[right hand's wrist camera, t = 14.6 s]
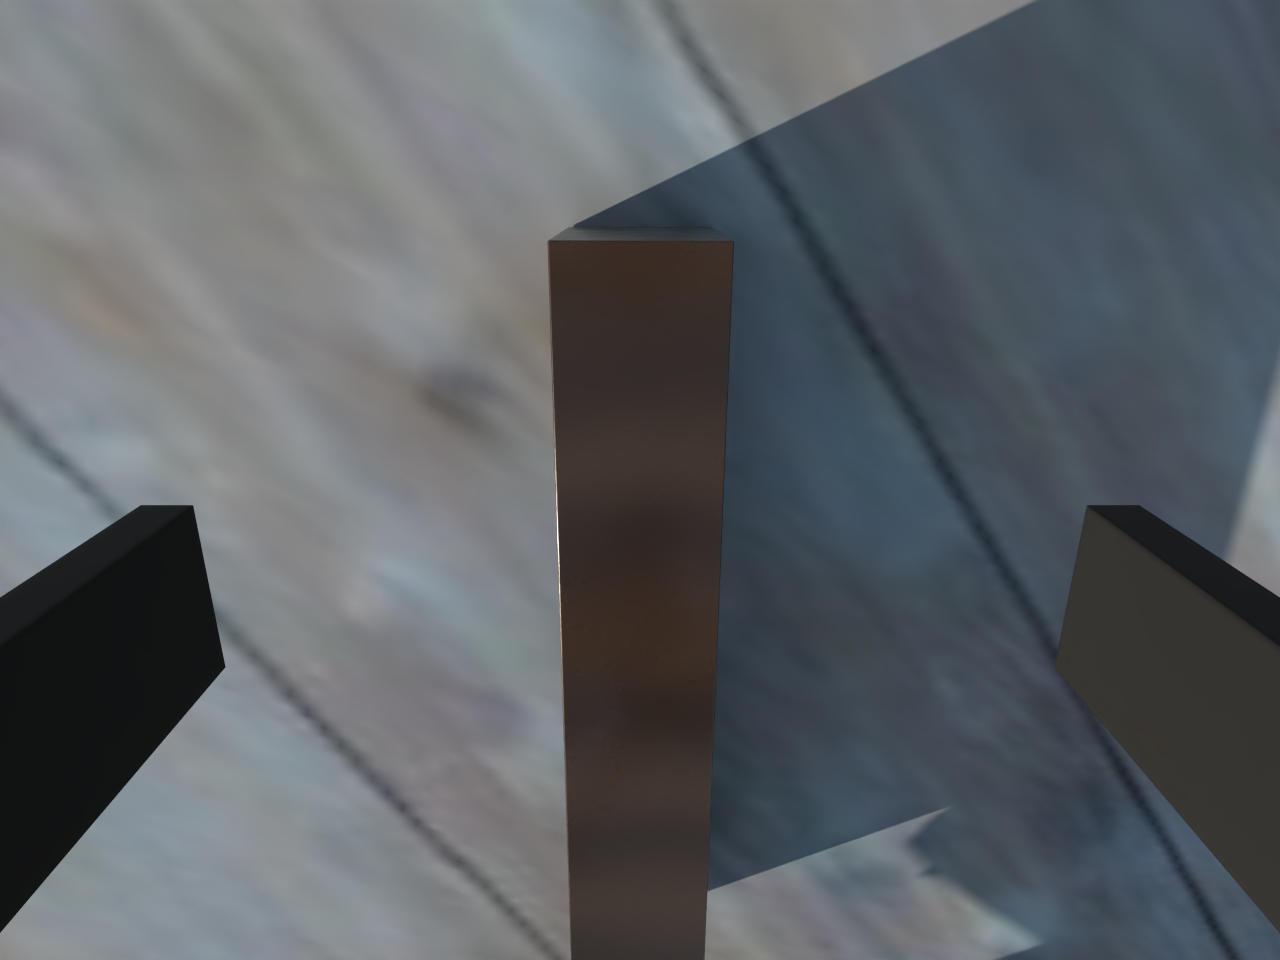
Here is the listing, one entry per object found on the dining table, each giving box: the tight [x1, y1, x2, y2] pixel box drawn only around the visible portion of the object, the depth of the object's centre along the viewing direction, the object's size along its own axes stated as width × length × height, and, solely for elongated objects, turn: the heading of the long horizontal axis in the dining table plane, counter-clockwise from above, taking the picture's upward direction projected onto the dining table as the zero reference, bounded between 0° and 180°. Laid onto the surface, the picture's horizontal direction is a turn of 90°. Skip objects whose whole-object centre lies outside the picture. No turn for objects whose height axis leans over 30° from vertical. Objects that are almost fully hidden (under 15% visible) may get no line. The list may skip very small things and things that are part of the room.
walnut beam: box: [548, 227, 734, 960], centre depth 36 cm, size 36×6×8 cm, turn 0°
